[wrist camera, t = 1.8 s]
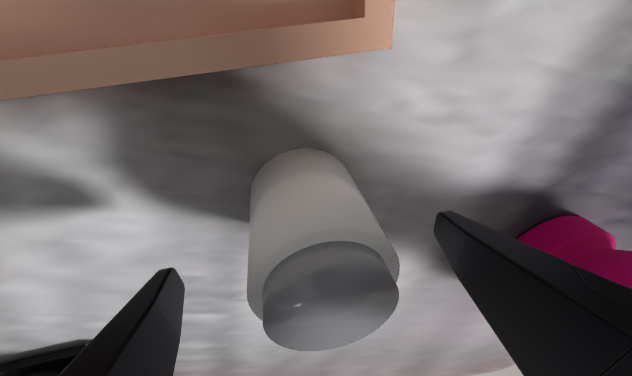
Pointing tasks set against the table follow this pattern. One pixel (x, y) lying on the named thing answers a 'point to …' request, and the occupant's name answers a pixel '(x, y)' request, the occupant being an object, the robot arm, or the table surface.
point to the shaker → (316, 254)
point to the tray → (173, 38)
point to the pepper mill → (582, 247)
